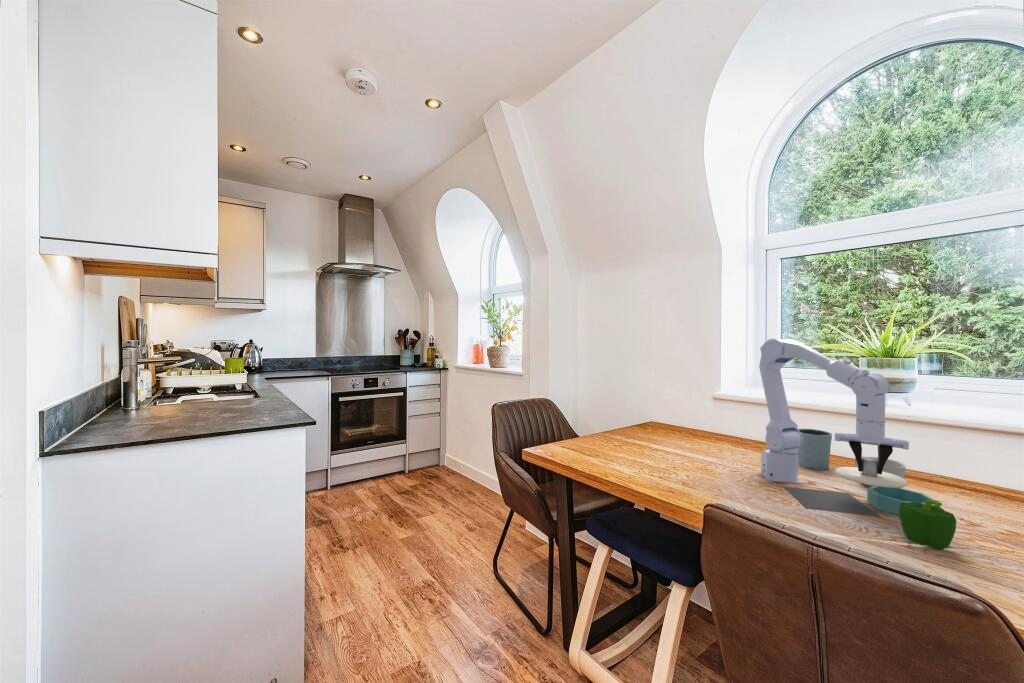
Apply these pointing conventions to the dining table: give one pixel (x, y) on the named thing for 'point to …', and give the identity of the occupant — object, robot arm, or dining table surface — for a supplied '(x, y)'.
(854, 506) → the mat
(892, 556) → the dining table surface
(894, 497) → the bowl
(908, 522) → the bell pepper
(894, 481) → the lid
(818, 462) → the teal cup
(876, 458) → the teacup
